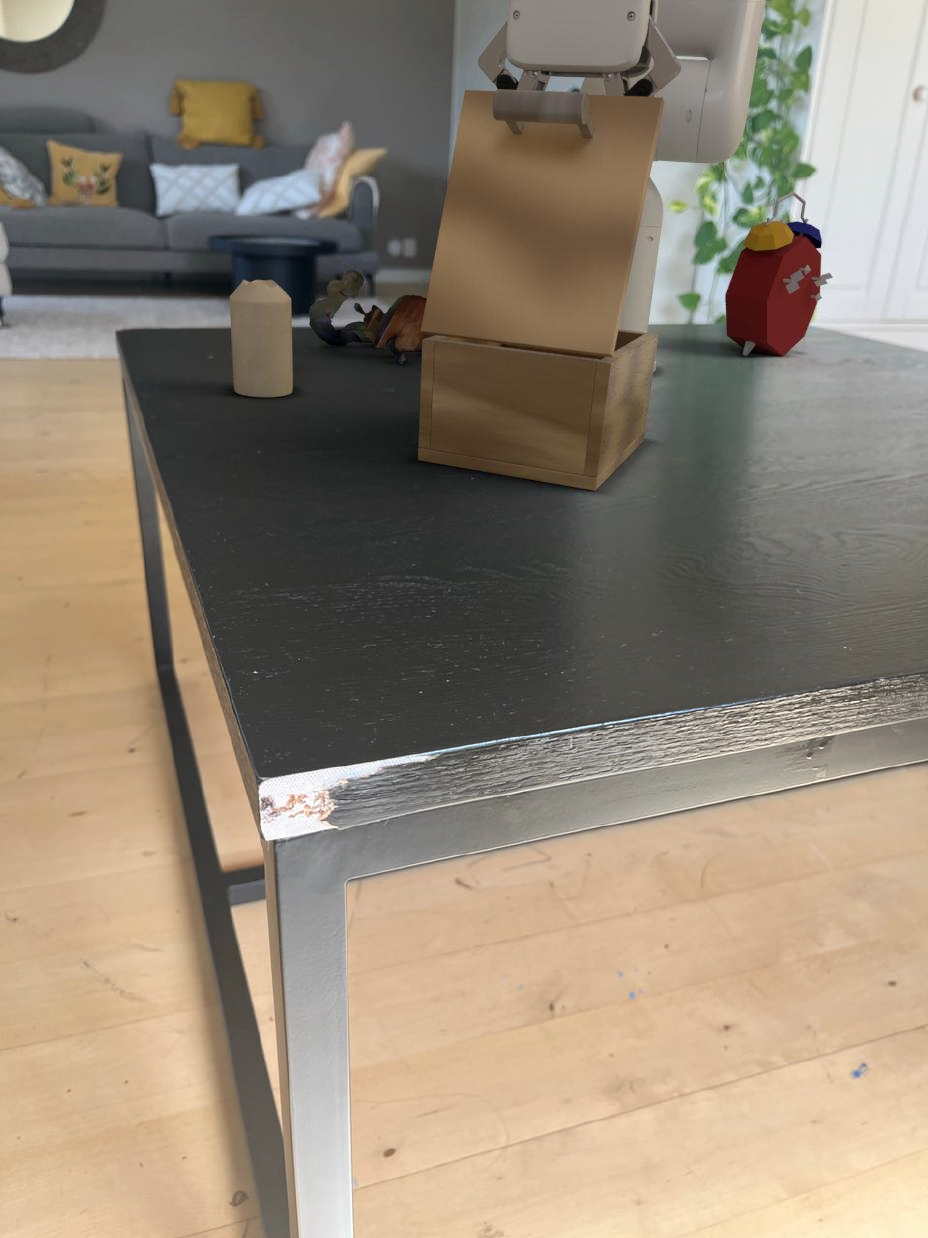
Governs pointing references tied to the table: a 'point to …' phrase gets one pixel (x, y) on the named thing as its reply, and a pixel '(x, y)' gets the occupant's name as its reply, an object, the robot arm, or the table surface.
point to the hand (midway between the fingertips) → (566, 175)
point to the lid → (542, 218)
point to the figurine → (370, 319)
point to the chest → (534, 408)
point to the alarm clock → (775, 285)
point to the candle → (261, 339)
